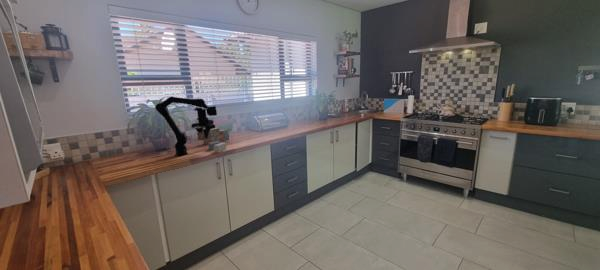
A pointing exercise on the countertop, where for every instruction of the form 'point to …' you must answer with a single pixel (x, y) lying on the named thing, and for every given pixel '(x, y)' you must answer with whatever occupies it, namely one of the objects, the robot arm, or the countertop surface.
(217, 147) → the cream brick
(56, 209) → the countertop surface
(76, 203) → the countertop surface
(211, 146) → the slate brick
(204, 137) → the walnut brick
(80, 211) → the countertop surface
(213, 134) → the stack of blocks
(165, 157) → the countertop surface
